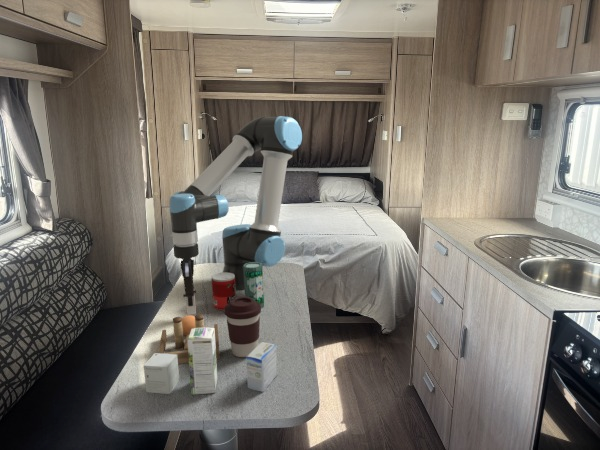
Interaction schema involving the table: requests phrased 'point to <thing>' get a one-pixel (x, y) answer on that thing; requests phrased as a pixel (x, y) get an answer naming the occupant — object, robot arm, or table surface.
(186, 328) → the ball
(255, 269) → the can
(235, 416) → the table surface
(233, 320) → the coffee cup
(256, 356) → the medicine box
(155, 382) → the product box
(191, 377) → the syrup box
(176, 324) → the rear pin
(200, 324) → the rear pin
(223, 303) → the canned food
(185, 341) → the front pin
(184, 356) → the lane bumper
